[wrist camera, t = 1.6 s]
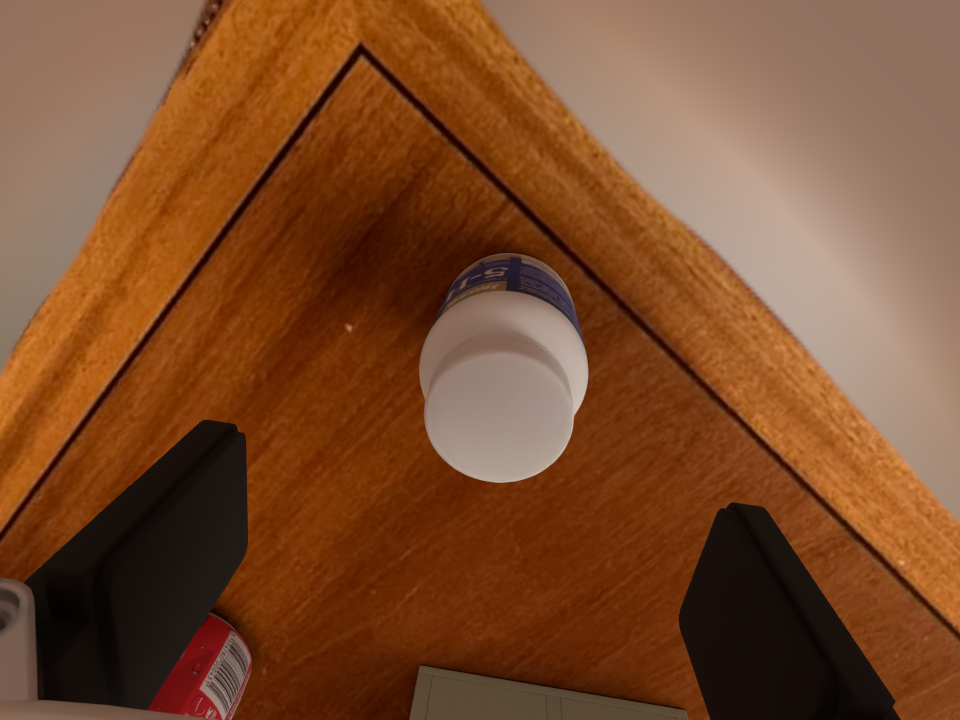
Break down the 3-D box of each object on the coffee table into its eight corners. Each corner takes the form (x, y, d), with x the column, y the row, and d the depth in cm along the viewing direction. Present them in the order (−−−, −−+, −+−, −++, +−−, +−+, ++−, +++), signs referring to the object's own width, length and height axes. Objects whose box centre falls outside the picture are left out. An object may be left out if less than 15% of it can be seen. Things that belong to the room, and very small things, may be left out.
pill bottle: (497, 222, 21) (482, 280, 13) (600, 305, 22) (645, 407, 14) (418, 325, 23) (361, 431, 15) (516, 396, 24) (513, 534, 16)
